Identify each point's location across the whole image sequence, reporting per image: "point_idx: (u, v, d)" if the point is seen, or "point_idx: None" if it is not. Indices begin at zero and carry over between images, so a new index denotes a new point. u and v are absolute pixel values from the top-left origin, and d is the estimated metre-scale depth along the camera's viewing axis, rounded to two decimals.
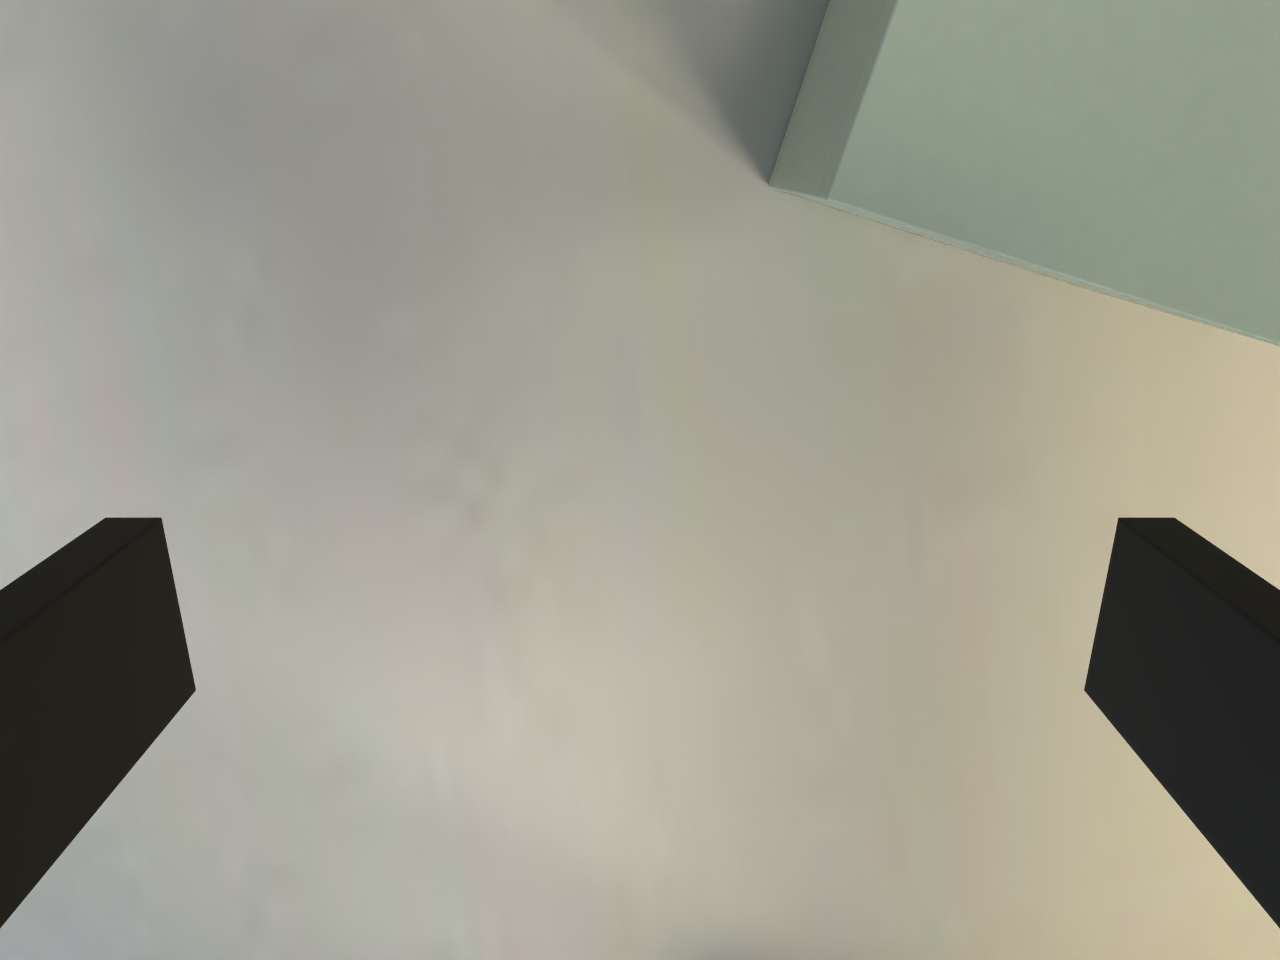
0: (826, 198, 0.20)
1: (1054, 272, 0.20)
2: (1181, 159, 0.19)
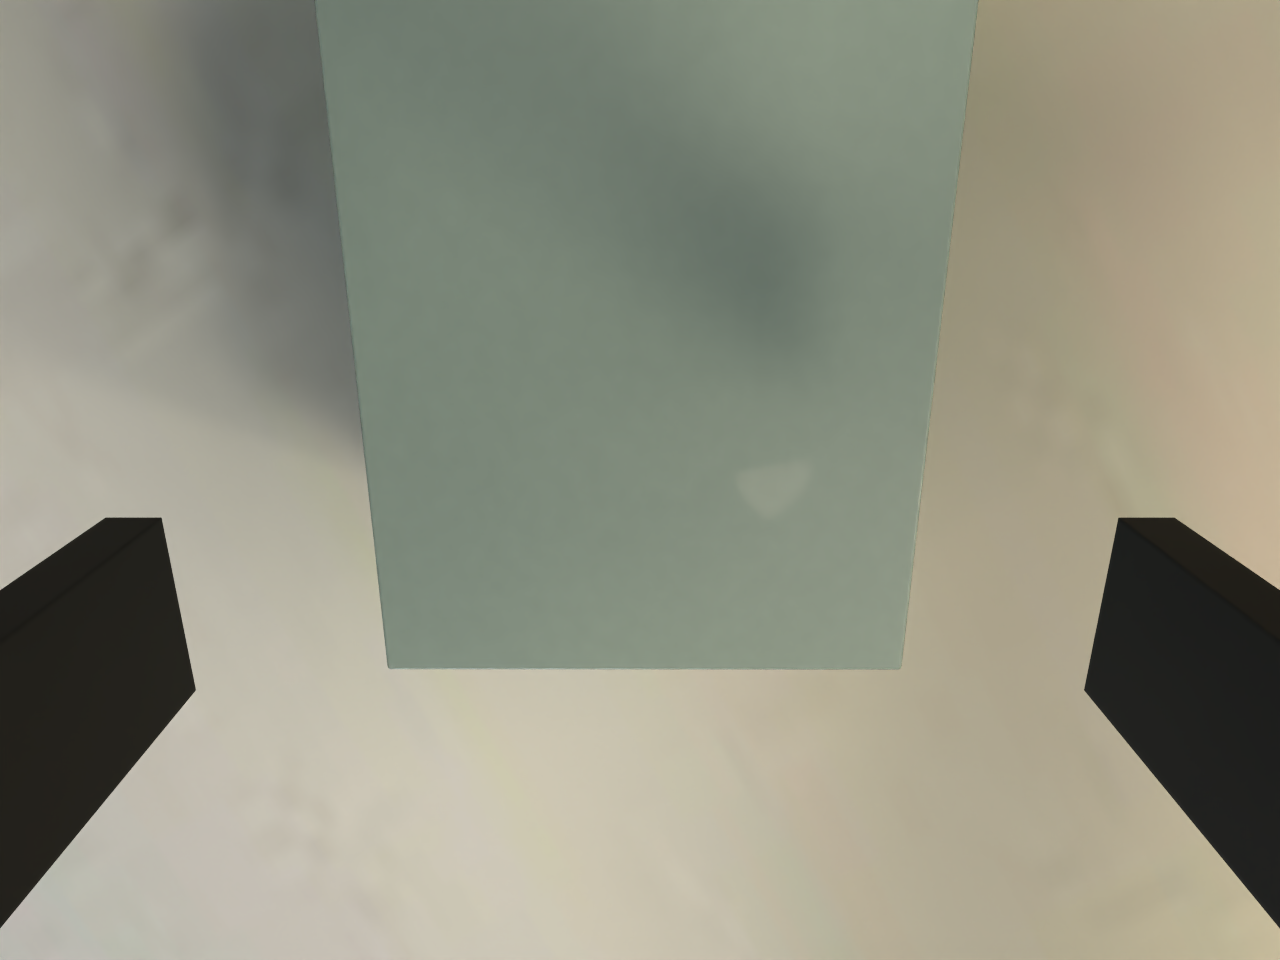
0: (389, 667, 0.20)
1: (637, 668, 0.20)
2: (710, 546, 0.19)
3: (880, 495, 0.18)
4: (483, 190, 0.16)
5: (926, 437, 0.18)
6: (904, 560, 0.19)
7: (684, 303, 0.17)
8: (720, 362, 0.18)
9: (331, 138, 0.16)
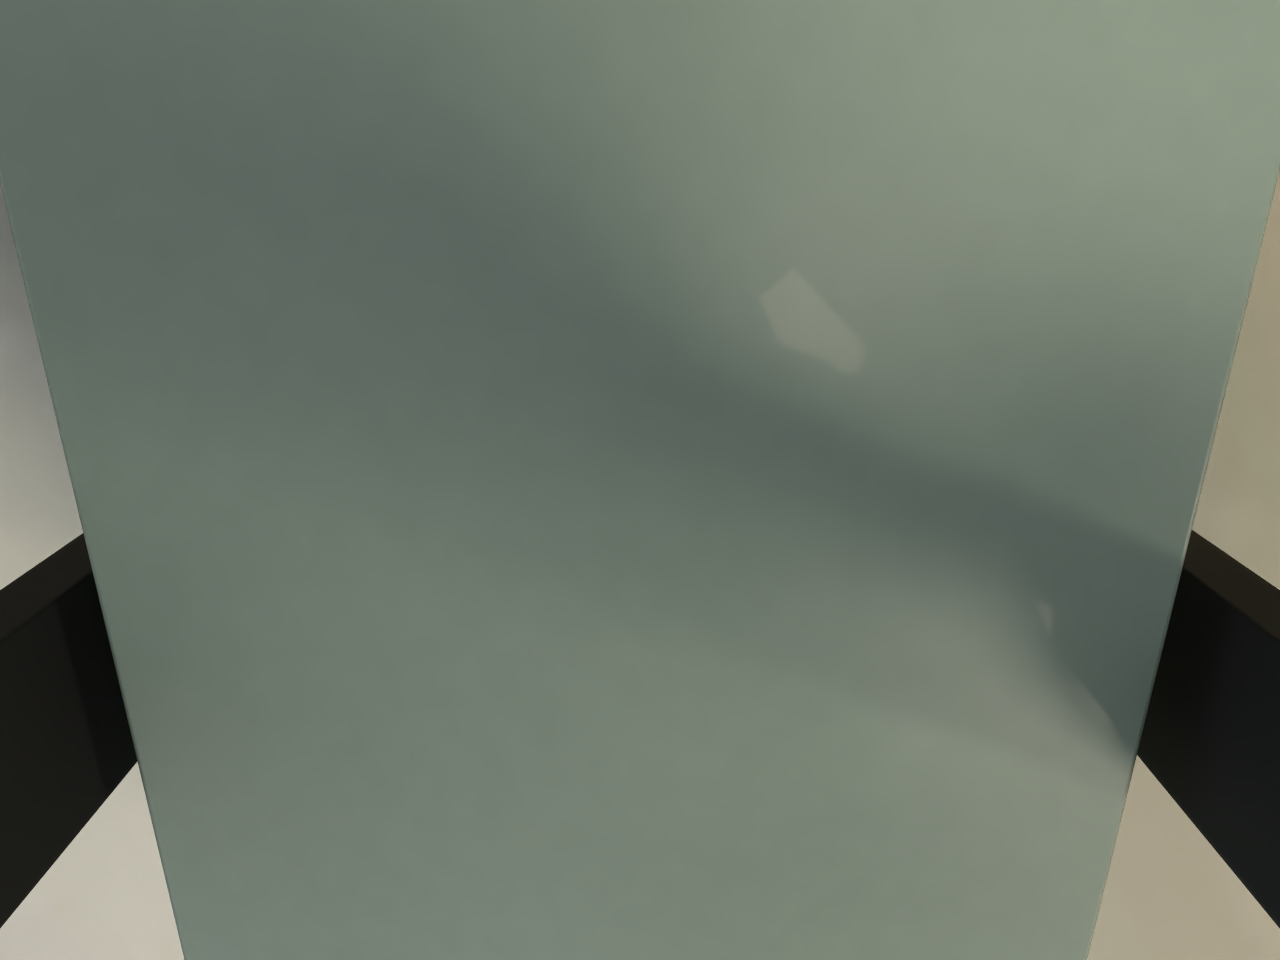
0: None
1: None
2: (753, 848, 0.11)
3: (1061, 770, 0.10)
4: (309, 226, 0.08)
5: (1151, 671, 0.10)
6: (1093, 870, 0.11)
7: (712, 443, 0.09)
8: (780, 548, 0.09)
9: None
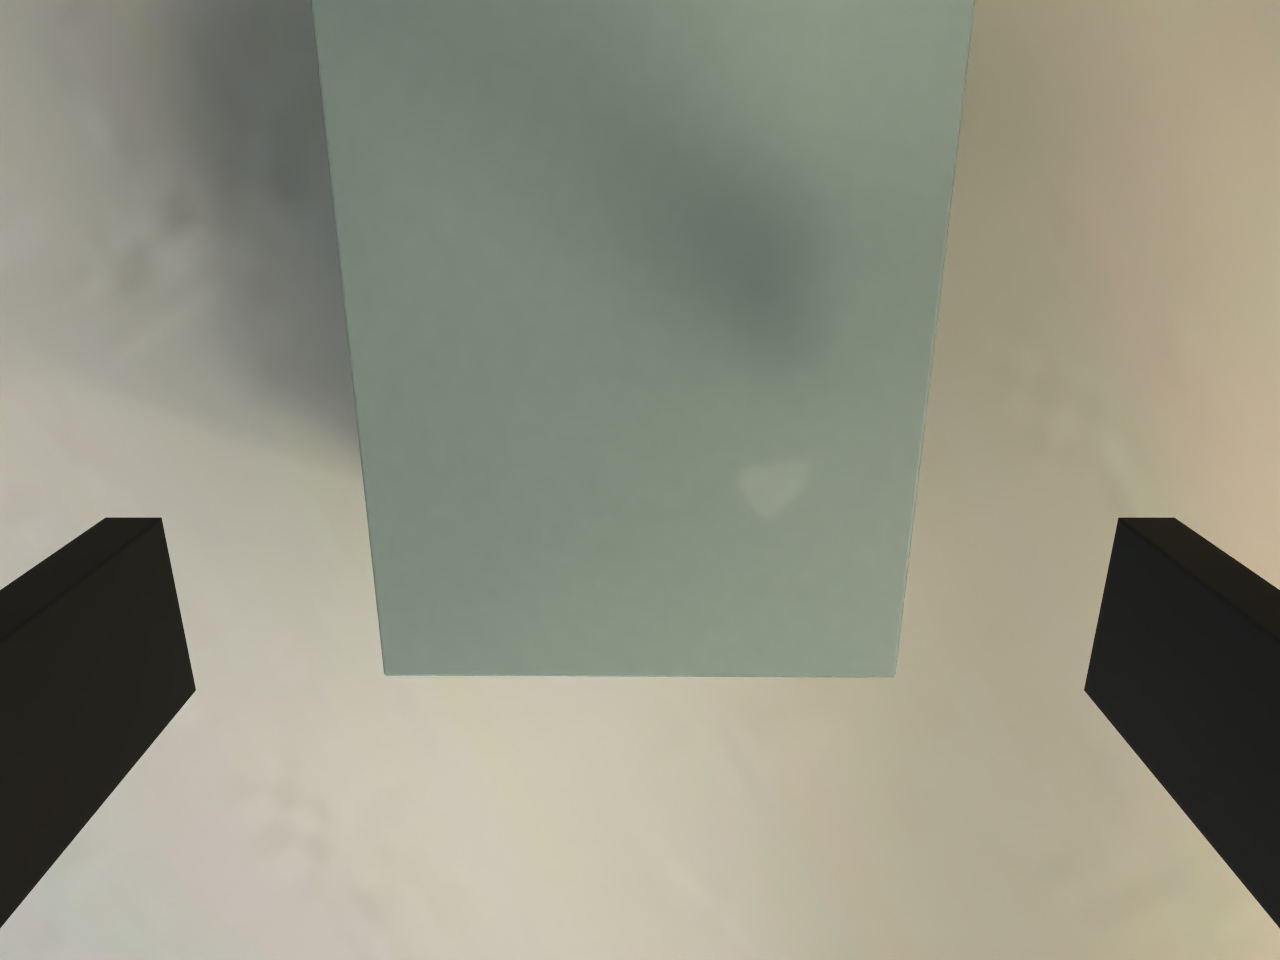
0: (385, 673, 0.20)
1: None
2: (705, 554, 0.19)
3: (874, 505, 0.19)
4: (480, 201, 0.17)
5: (920, 447, 0.18)
6: (898, 569, 0.19)
7: (679, 314, 0.17)
8: (715, 372, 0.18)
9: (329, 149, 0.16)
